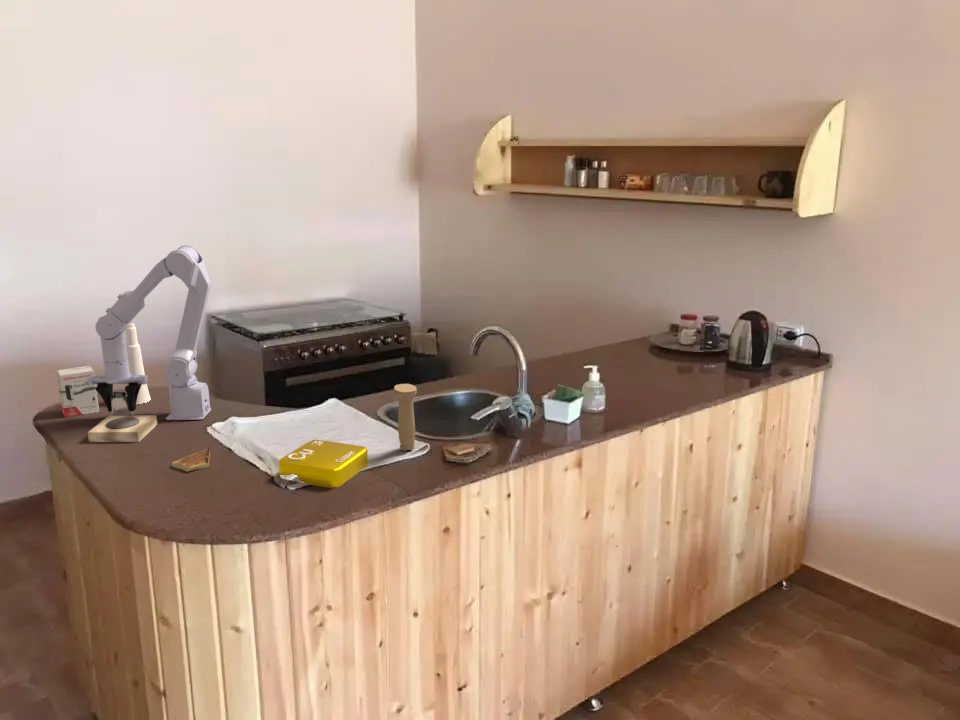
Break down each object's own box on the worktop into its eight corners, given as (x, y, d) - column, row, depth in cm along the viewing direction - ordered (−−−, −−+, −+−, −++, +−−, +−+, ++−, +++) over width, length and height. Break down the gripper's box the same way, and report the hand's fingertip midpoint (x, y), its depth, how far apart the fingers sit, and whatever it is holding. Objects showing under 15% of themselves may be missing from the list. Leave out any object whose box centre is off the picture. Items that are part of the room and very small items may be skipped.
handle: (413, 443, 199) (411, 382, 195) (421, 452, 193) (419, 390, 189) (393, 445, 197) (391, 385, 193) (400, 455, 191) (398, 393, 187)
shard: (210, 453, 195) (209, 445, 194) (232, 459, 191) (231, 452, 190) (170, 468, 186) (170, 460, 186) (193, 475, 182) (192, 468, 182)
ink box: (64, 418, 218) (58, 374, 215) (62, 413, 222) (55, 370, 218) (100, 412, 222) (94, 369, 219) (96, 407, 226) (90, 365, 223)
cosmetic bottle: (128, 399, 233) (118, 322, 227) (151, 397, 234) (142, 320, 228) (126, 405, 227) (116, 327, 221) (150, 403, 229) (141, 325, 223)
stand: (157, 424, 212) (156, 414, 212) (138, 441, 201) (137, 430, 200) (110, 425, 212) (108, 414, 212) (88, 442, 201) (87, 431, 200)
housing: (136, 414, 220) (133, 388, 218) (128, 420, 215) (125, 394, 213) (117, 414, 220) (114, 389, 218) (109, 420, 215) (105, 394, 213)
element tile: (336, 490, 174) (335, 469, 173) (275, 480, 179) (274, 459, 178) (371, 464, 187) (370, 444, 186) (314, 455, 193) (312, 436, 191)
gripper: (80, 364, 210) (87, 415, 213) (137, 364, 210) (144, 415, 213) (92, 357, 216) (99, 406, 220) (148, 356, 216) (154, 406, 220)
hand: (122, 410), depth 217 cm, fingers closed on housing, 5 cm apart
